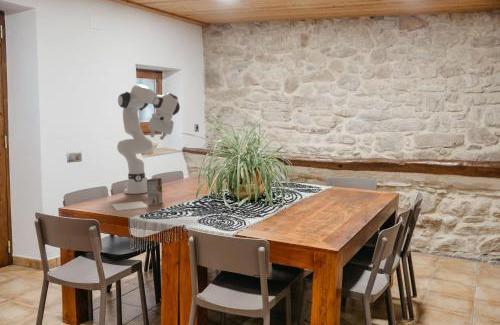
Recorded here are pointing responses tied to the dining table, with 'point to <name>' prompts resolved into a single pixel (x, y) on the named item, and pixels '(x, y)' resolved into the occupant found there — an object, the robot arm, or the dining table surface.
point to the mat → (129, 206)
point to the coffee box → (154, 191)
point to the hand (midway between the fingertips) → (156, 138)
